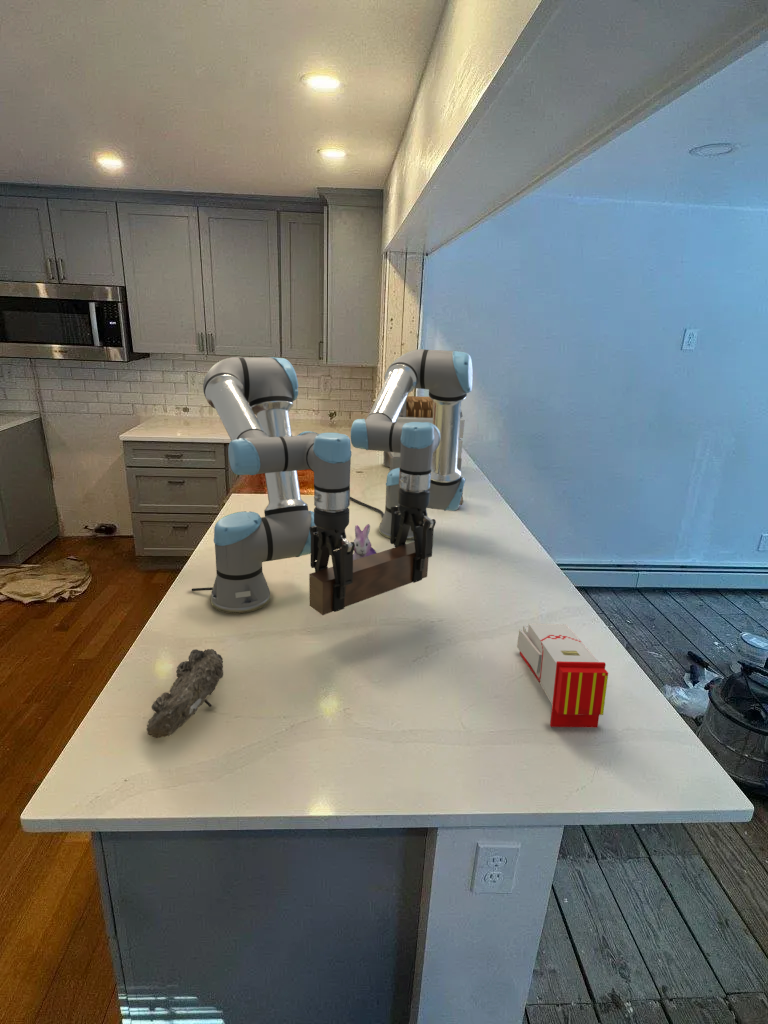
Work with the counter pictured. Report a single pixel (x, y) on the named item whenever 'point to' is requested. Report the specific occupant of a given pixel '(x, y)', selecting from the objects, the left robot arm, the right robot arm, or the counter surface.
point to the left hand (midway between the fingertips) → (330, 604)
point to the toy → (565, 673)
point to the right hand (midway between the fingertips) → (408, 576)
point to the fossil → (186, 692)
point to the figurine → (362, 543)
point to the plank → (366, 577)
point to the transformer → (419, 412)
